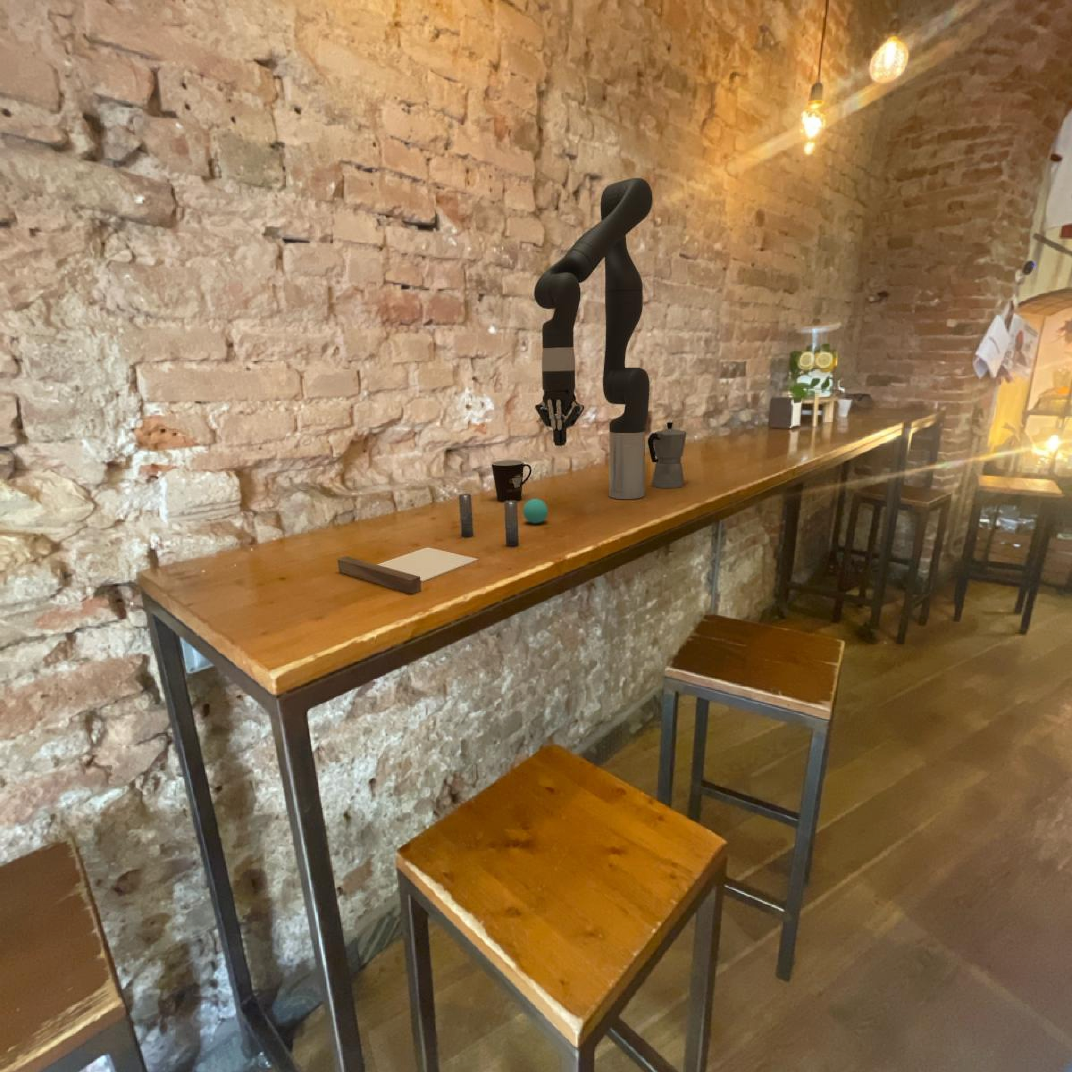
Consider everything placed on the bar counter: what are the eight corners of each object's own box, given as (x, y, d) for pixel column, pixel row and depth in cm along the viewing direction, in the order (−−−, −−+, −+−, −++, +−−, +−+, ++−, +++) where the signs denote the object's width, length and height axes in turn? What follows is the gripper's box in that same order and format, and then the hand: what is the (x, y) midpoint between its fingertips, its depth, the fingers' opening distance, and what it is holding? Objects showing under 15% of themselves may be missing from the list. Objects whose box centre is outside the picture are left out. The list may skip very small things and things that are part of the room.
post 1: (467, 533, 135) (464, 493, 132) (475, 535, 133) (473, 494, 131) (458, 536, 133) (456, 495, 130) (467, 538, 131) (464, 496, 129)
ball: (533, 518, 145) (533, 495, 143) (552, 521, 142) (552, 498, 140) (518, 524, 141) (517, 500, 139) (538, 527, 137) (537, 503, 136)
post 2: (511, 542, 127) (509, 499, 125) (521, 544, 126) (519, 501, 123) (503, 545, 125) (501, 502, 123) (513, 547, 124) (511, 504, 121)
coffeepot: (669, 479, 184) (671, 419, 179) (695, 484, 177) (698, 420, 172) (634, 487, 175) (635, 423, 170) (660, 492, 168) (662, 426, 163)
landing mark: (427, 548, 125) (427, 547, 125) (478, 560, 117) (477, 559, 117) (371, 567, 115) (371, 566, 114) (422, 581, 106) (422, 580, 106)
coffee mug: (497, 504, 160) (495, 466, 157) (490, 497, 168) (488, 461, 165) (539, 500, 163) (538, 463, 160) (531, 494, 171) (530, 458, 168)
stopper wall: (348, 569, 114) (346, 556, 113) (421, 590, 102) (420, 576, 101) (339, 572, 113) (337, 559, 112) (412, 594, 101) (410, 580, 100)
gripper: (592, 368, 138) (592, 445, 143) (545, 368, 146) (546, 441, 151) (573, 369, 132) (574, 449, 137) (525, 369, 140) (527, 445, 145)
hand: (559, 445), depth 144 cm, fingers closed
